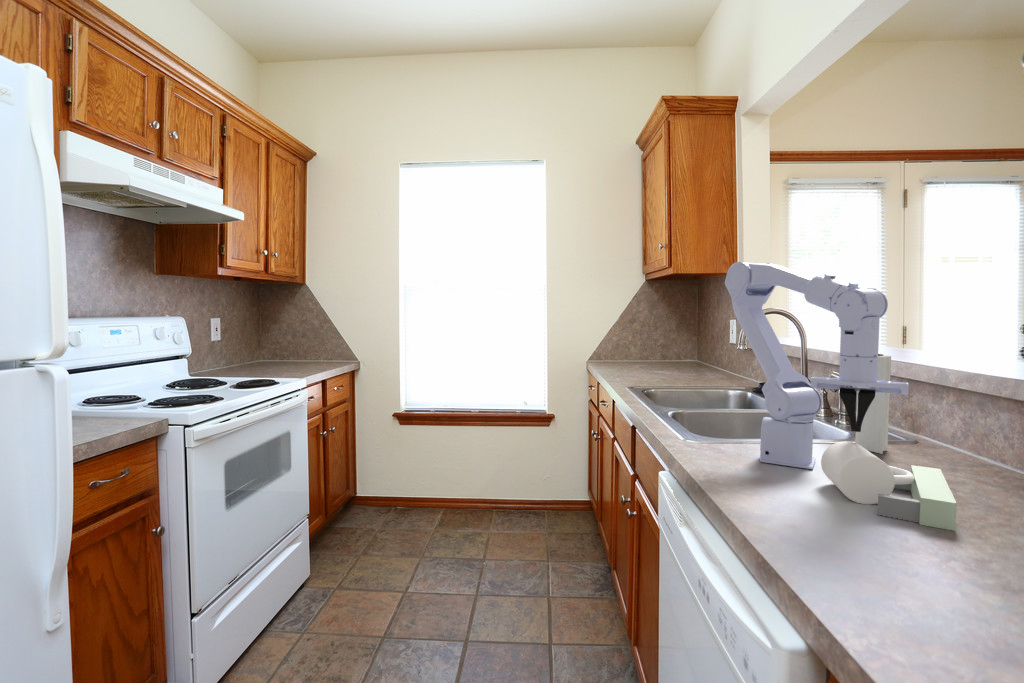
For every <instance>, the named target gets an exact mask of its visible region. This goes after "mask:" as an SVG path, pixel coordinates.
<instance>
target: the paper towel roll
mask: <svg viewBox="0 0 1024 683" xmlns="http://www.w3.org/2000/svg"><path fill="white" fill-rule="evenodd" d="M891 368H892V355H889V354H888V355H887V354H882V353H878V371H877V380H881V381H891V373H892V372H891V371H892V370H891ZM856 388H868V389H872V388H870V387H856ZM858 393H859V391H857V396H856V422H857V415H858ZM890 394H891V393H880V392H875V398H874V399H873V401H872V403H871V404H870V406H869V408H868V410H867V412H866V414H865V416H864V419H863V422H862V425H861V432H855V440H854V441H855V442H854V443H856V444H858V445H860V446H862V447H863V448H865V449H866V450H868V451H869V452H871V453H873V452H874V453H877V454H881V455H884V454H883V453H884V452H887V451H888V447H889V446H888V444H889V443H888V442H889V420H890V419H889V417H890V400H891V399H890V397H891V396H890Z"/></svg>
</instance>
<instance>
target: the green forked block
mask: <svg viewBox="0 0 1024 683" xmlns="http://www.w3.org/2000/svg"><path fill="white" fill-rule="evenodd" d="M910 472H911V473H912V474H913V475H914V478H915V481H914V482H913V483H912V484H904V485H896V484H895V486H894V489H898V490H906V491H910V493H911V496H912V498H908V497H901V496H894V495H891V494H890V495H884V494H878V503H877V514H878V515H877V516H880V515H883V516H882V517H885V516H888V517H887V518H891V517H893V518H892V519H896V518H898V519H897V520H902V519H903V521H907V520H908V522H914V523H918V522H919V523H918V524H919V525H921V526H927V527H931V528H938V529H942V530H949V531H953V532H956V525H957V507H958V506H957V501H956V499H955V497H954V495H953V492H952V490H951V488H950V486H949V485H948V482H947V480H946V478H945V476H944V473H943V472H942V469H941V468H935V467H928V466H921V465H914V464H913V465H912V464H911V465H910ZM894 475H895V474H894Z"/></svg>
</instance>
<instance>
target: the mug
mask: <svg viewBox="0 0 1024 683" xmlns="http://www.w3.org/2000/svg"><path fill="white" fill-rule="evenodd" d="M820 465H821V466H820V467H821V470H822V471H823V474H824V475H825V476H826V477H827V478H828V479H829V481H830V482H832V484H833V485H835V487H837V489H839V491H840V492H841V493H842V494H843V495H844V496H845V497H847V499H849V500H850V501H853V502H854V503H857V504H860V503H861V504H860V505H875V504H878V494H884V495H890V496H891V494H892V493H893V491H894V489H895V488H894V486H895V484H896V485H904V484H912V483H913V482H914V481H915V478H914V475H913V474H912V473H911V471H910V470H907V469H903V468H899V467H896V466H892V465H889V464H887V463H886V462H885V461H883V460H882V459H880V458H879V457H878V456H876V455H875V454H873V452H871V451H868V450H866V449H865V448H863V447H862V446H860V445H858V444H856V443H855V442H854V441H838V442H834V443H833V444H830V445H829V446H828V447H827V448H826V449H825V450H824V451H823V453H822V456H821V459H820ZM894 474H895V475H894Z"/></svg>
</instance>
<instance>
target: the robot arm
mask: <svg viewBox="0 0 1024 683" xmlns="http://www.w3.org/2000/svg"><path fill="white" fill-rule="evenodd" d="M724 286H725V287H726V289H727V291H728V293H729V296H730V298H731V299H730V300H731V304H732V310H733V313H734V315H735V317H736V319H737V322H738V323H739V326H740V328H741V330H742V332H743V334H744V335H745V338H746V339H747V342H748V344H749V346H750V347H751V350H752V351H753V353H754V356H755V358H756V360H757V361H758V364H759V366H760V368H761V369H762V372H763V373H764V376H765V378H766V382H765V383H764V384H763V385H762V388H761V391H762V394H763V396H764V403H765V409H766V411H767V412H768V414H769V415H770V417H769V416H764V417H763V418H762V421H761V426H760V427H761V428H760V445H759V446H760V447H759V449H760V450H759V451H760V452H759V453H760V456H759V462H761V463H768V464H773V465H779V466H787V467H793V468H800V469H808V470H813V469H814V466H815V463H816V460H817V459H816V458H815V457H813V448H814V447H813V445H814V420H816V416H817V415H818V414H819V413H820V412H821V411H822V410H823V405H824V400H823V396H822V394H821V392H820V391H819V390H818V389H825V390H826V389H827V390H828V389H829V390H839V397H840V399H841V401H842V403H843V405H844V407H845V410H846V412H847V416H848V419H849V422H850V431H851V432H854V433H856V432H861V425H862V422H863V419H864V416H865V414H866V412H867V410H868V408H869V406H870V404H871V403H872V401H873V399H874V398H875V392H880V393H890V394H893V395H894V394H896V395H904V396H908V395H909V386H910V385H909V382H901V381H900V382H899V381H891V380H890V381H881V380H877V371H878V354H879V344H880V343H879V340H880V339H879V338H880V319H881V318H882V317H883V316H885V314H886V312H887V310H888V307H889V303H888V299H887V296H886V295H885V294H884V293H883V292H882V291H880V290H877V288H874V287H870V288H864V289H863V288H862V289H861V288H860V287H859V284H858V283H855V282H848V283H847V282H844V281H841V280H838V279H836V275H835V274H831V273H824V275H822V274H821V275H817V276H814V277H810V276H807V275H805V274H802V273H800V272H798V271H795V270H793V269H790V268H787V267H785V266H783V265H781V264H773V263H772V262H771V263H770V262H764V263H762V262H743V261H736V262H733V263H732V264H731V265H730V266H729V268H728V270H727V272H726V275H725V281H724ZM778 286H779V287H782V288H784V289H789V290H790V291H794V292H797V293H801V294H803V295H804V298H805V301H806V302H807V303H809V304H812V305H814V306H816V307H819V308H822V309H824V310H826V311H829V312H831V313H834V314H835V316H836V317H837V319H838V324H839V325H838V327H839V328H840V343H839V344H840V346H839V351H840V352H839V375H838V376H839V377H826V376H825V377H821V376H812V377H811V378H810V381H809V379H808V377H806V376H805V375H803V374H802V373H800V372H798V371H796V370H795V369H794V367H793V365H792V363H791V361H790V359H789V358H788V356H787V354H786V352H785V350H784V347H783V346H782V344H781V343H780V340H779V338H778V336H777V335H776V333H775V330H774V329H773V326H771V323H770V322H769V319H768V317H767V316H766V314H765V312H764V310H763V305H765V304H766V303H767V302H768V300H769V298H770V296H771V295H772V293H773V292H774V291H775V288H776V287H778ZM857 387H870V388H872V389H868V388H857ZM857 391H859V393H858V415H857V422H856V411H857Z"/></svg>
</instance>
